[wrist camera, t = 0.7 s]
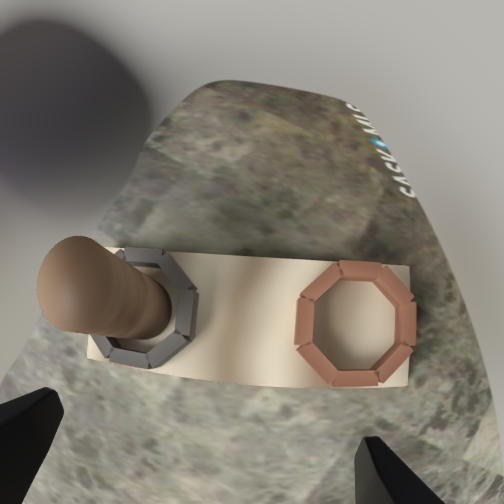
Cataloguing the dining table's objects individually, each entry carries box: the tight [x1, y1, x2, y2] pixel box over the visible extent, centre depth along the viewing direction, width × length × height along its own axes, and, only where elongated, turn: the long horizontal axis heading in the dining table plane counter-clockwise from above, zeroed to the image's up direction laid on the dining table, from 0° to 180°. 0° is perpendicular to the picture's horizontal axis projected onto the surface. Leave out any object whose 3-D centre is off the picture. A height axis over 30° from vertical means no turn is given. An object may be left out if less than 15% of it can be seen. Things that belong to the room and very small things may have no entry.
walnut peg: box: [37, 236, 172, 340], centre depth 17 cm, size 4×4×9 cm
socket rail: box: [87, 247, 416, 388], centre depth 20 cm, size 23×9×3 cm, turn 85°
